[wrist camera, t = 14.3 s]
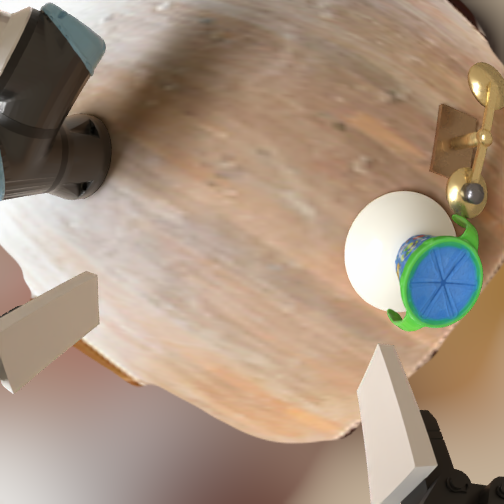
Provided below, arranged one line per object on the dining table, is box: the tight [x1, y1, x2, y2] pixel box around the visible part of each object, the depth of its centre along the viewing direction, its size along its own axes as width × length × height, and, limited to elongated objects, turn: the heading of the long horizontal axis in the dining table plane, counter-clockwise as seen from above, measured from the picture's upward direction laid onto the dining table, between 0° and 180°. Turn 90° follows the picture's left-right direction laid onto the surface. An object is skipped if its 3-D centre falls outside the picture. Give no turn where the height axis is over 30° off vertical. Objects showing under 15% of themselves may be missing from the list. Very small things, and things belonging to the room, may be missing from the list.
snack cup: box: [387, 214, 483, 331], centre depth 33 cm, size 16×10×10 cm
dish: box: [344, 191, 456, 312], centre depth 38 cm, size 17×17×1 cm
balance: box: [429, 62, 504, 218], centre depth 28 cm, size 6×20×11 cm, turn 169°
